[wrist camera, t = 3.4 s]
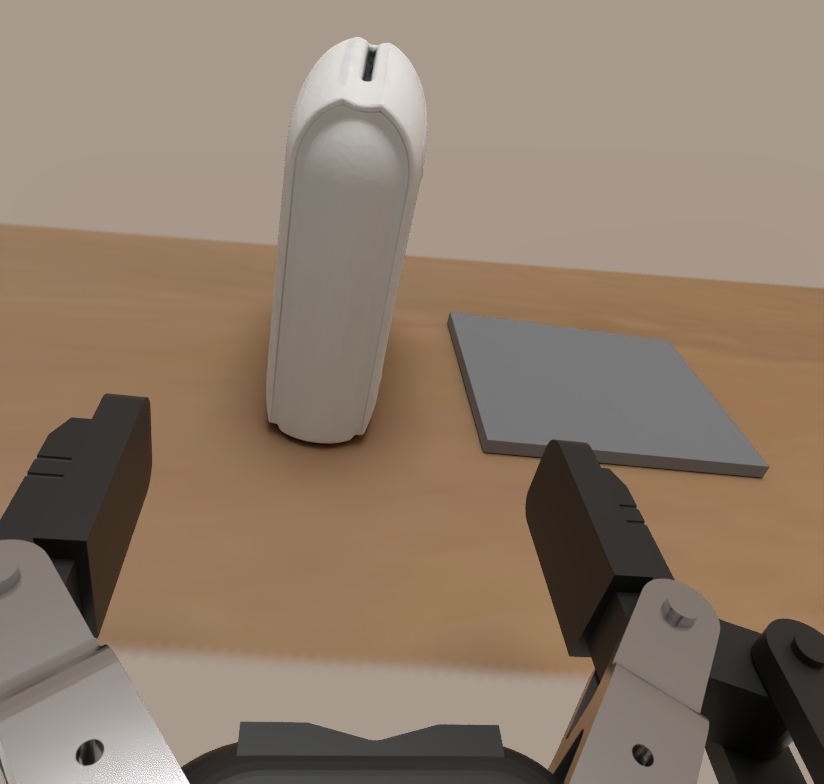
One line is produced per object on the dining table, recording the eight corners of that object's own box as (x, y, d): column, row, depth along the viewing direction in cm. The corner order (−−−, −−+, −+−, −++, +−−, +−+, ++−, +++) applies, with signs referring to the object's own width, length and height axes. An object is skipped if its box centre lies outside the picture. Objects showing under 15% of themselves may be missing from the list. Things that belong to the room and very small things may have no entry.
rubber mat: (483, 452, 25) (487, 439, 25) (447, 322, 33) (450, 311, 33) (762, 477, 27) (769, 467, 27) (664, 350, 35) (668, 340, 35)
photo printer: (290, 305, 31) (320, 12, 25) (379, 319, 32) (432, 36, 25) (250, 440, 23) (279, 50, 16) (372, 457, 23) (450, 86, 17)
